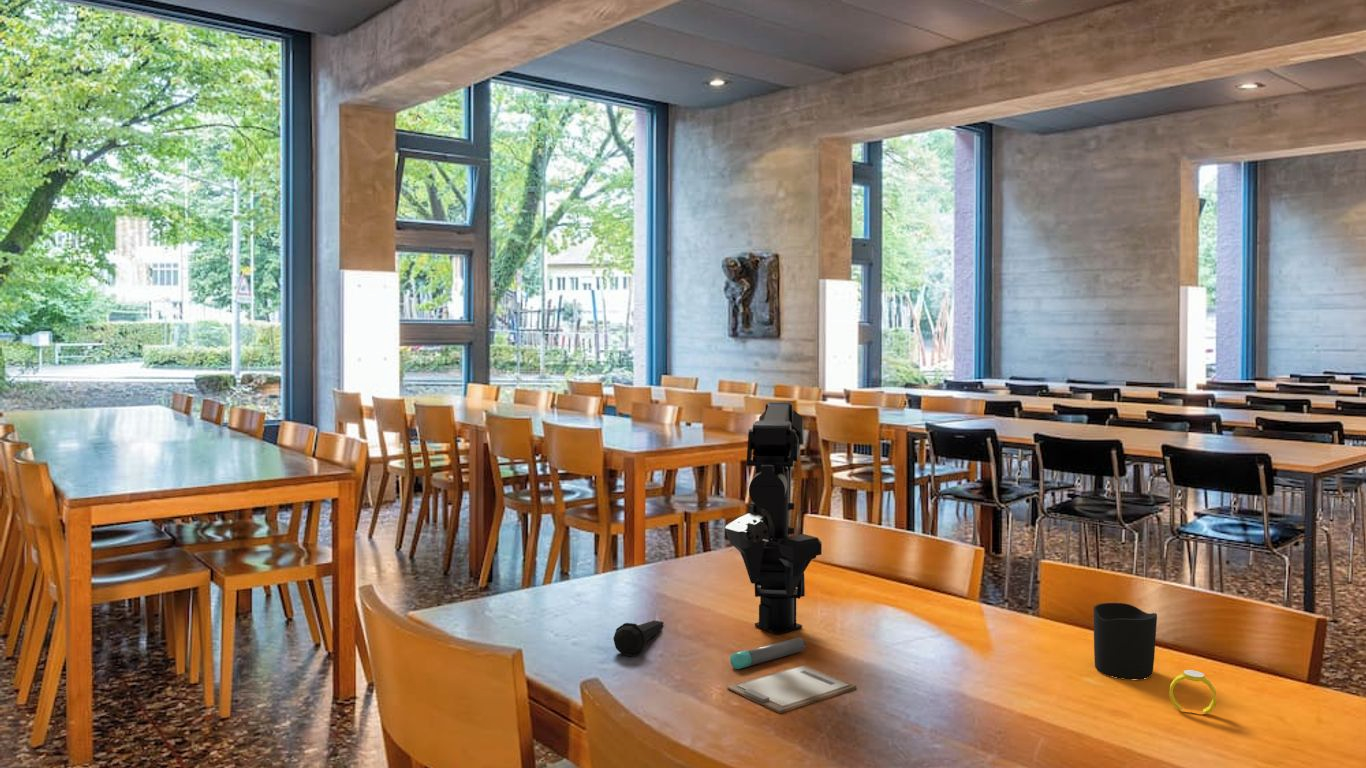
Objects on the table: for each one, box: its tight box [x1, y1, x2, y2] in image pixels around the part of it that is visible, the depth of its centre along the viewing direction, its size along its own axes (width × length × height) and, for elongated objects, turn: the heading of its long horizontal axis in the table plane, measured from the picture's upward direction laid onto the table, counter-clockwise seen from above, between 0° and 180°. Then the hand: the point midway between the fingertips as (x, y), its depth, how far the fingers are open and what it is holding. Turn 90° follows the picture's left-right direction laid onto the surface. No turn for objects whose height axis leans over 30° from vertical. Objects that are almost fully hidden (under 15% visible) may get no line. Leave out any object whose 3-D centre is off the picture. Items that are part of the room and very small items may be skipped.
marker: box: [729, 637, 808, 670], centre depth 168 cm, size 16×3×3 cm, turn 127°
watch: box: [1169, 669, 1217, 714], centre depth 145 cm, size 6×3×6 cm, turn 64°
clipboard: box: [726, 664, 857, 714], centre depth 155 cm, size 16×12×1 cm
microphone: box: [613, 620, 664, 657], centre depth 178 cm, size 6×6×20 cm
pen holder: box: [1092, 602, 1158, 680], centre depth 161 cm, size 9×9×10 cm
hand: (771, 589), depth 168 cm, fingers open, 9 cm apart
